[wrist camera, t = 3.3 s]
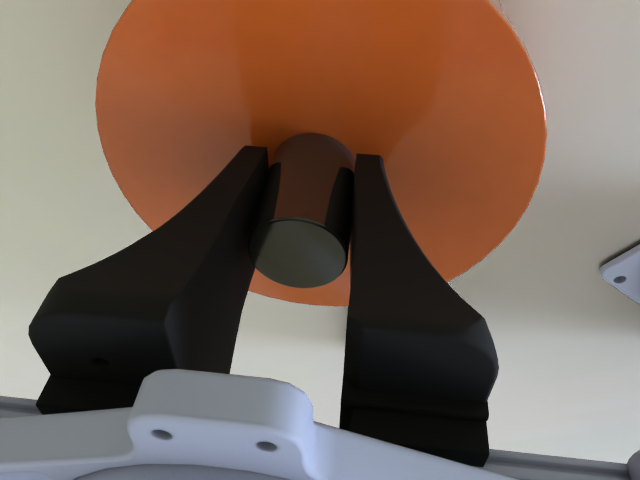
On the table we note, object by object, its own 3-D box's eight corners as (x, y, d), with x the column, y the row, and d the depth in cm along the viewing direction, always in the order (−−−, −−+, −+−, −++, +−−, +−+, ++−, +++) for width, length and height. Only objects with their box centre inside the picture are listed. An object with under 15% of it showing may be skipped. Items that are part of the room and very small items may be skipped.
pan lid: (611, -77, 12) (686, 13, 9) (485, 297, 20) (500, 411, 17) (49, -100, 13) (-71, -26, 9) (157, 268, 21) (112, 371, 18)
